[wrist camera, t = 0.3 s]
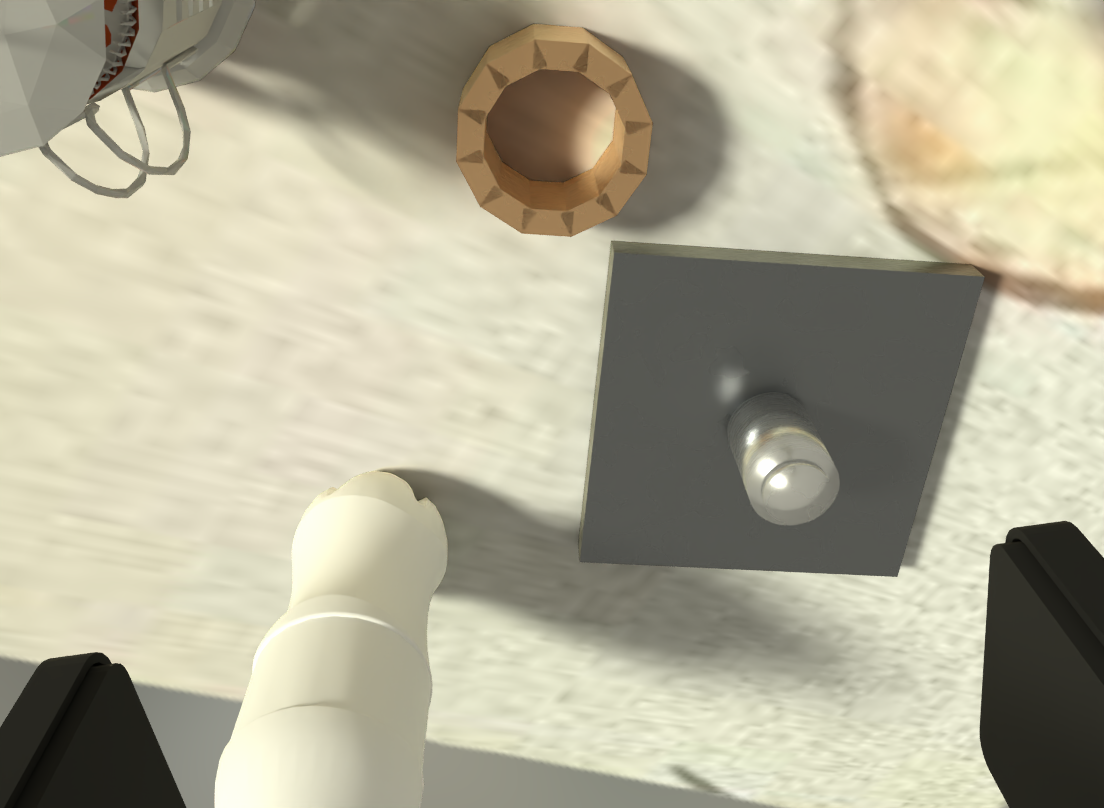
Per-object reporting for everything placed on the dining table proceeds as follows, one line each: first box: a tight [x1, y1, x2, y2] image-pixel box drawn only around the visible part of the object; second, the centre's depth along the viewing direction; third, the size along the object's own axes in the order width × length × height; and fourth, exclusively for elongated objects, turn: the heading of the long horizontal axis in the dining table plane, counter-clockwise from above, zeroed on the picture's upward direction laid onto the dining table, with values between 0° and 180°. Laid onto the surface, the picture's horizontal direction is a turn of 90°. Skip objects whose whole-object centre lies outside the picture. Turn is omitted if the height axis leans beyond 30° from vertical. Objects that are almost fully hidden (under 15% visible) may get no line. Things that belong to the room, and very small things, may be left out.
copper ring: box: [456, 24, 653, 237], centre depth 40 cm, size 7×7×4 cm
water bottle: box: [215, 471, 447, 808], centre depth 40 cm, size 7×7×25 cm
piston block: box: [578, 241, 985, 577], centre depth 45 cm, size 16×16×7 cm
